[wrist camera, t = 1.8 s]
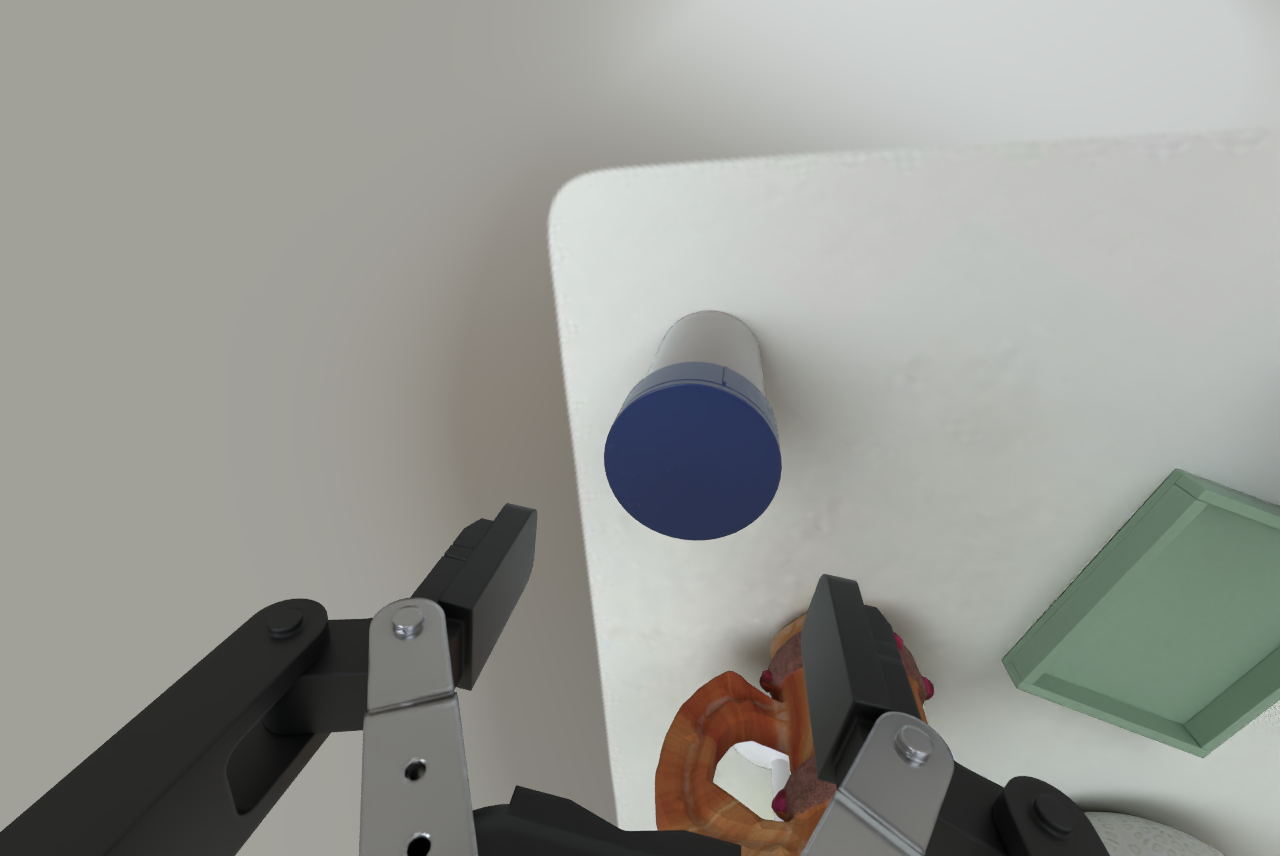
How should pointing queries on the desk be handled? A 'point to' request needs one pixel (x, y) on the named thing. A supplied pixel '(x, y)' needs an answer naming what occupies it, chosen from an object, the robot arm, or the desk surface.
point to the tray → (1169, 621)
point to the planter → (1145, 837)
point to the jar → (712, 345)
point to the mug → (750, 715)
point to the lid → (694, 452)
